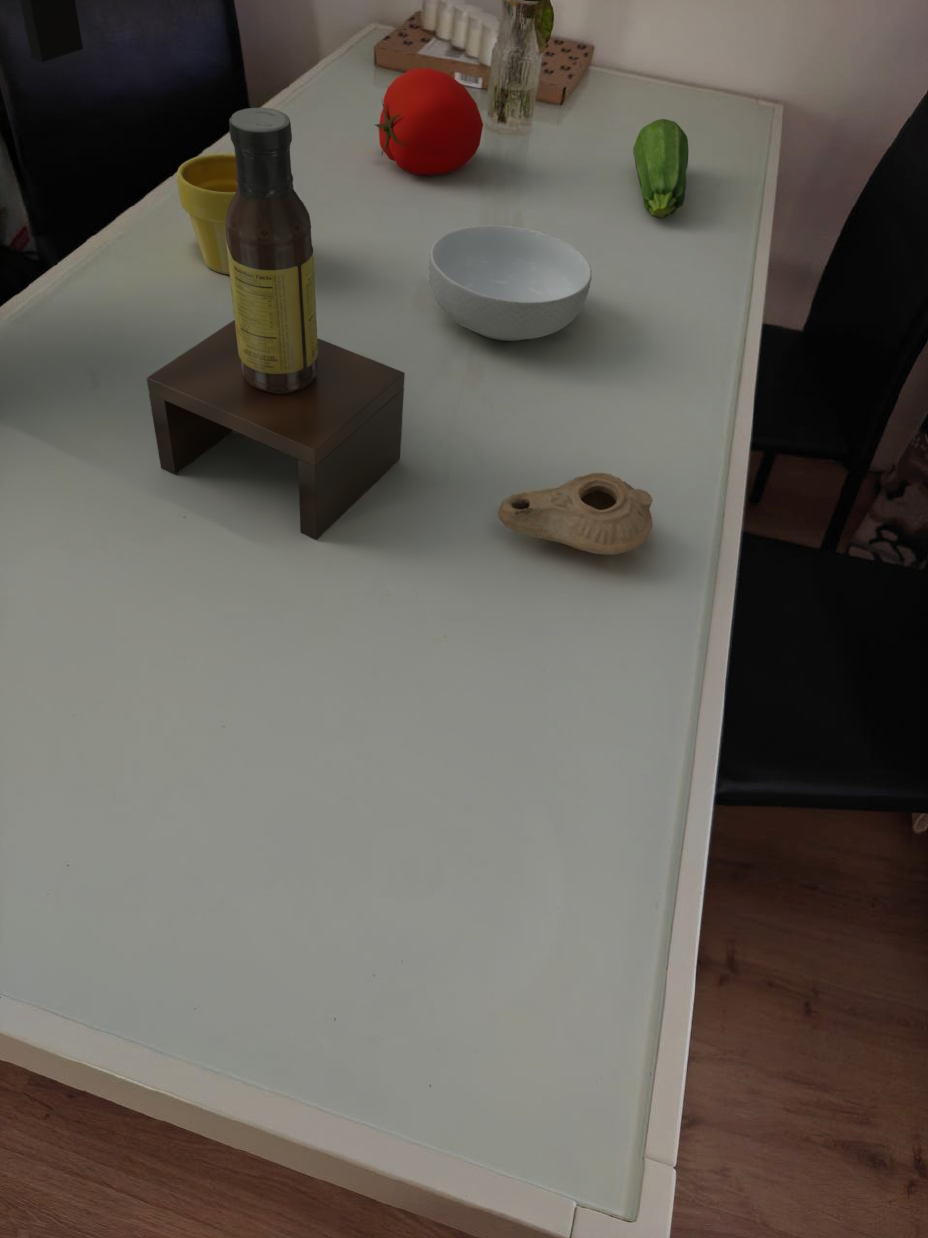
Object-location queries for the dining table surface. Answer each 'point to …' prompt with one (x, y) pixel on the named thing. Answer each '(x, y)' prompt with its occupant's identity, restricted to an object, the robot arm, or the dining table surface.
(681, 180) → the vegetable
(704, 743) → the dining table surface
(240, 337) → the sauce bottle
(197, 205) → the flower pot
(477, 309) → the cereal bowl
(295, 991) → the dining table surface
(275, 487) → the dining table surface
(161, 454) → the shelf
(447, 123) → the tomato
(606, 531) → the pottery oil lamp
